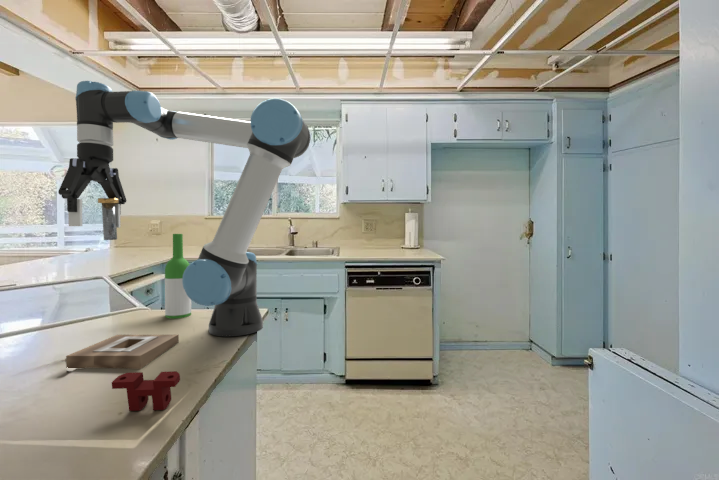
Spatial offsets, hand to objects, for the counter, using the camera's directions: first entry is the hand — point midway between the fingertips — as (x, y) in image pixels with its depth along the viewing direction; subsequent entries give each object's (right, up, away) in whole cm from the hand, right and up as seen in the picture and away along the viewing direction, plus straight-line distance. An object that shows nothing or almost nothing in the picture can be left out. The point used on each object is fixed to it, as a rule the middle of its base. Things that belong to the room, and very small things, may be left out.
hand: (96, 227), depth 91 cm
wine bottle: (+8, -31, +25) cm, 41 cm away
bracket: (+27, -29, -32) cm, 51 cm away
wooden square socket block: (+13, -32, -7) cm, 35 cm away
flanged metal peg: (0, -3, +5) cm, 6 cm away
